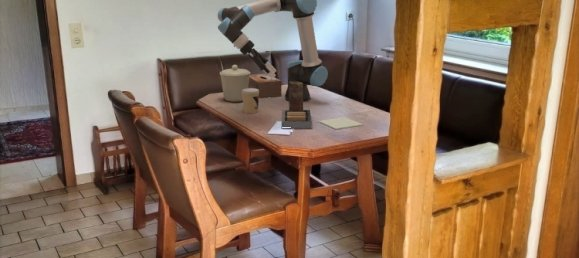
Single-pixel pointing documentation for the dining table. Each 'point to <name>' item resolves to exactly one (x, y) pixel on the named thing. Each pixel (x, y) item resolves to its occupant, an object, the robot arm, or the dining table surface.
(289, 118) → the offcut stack
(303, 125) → the offcut rack
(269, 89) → the tissue box cover
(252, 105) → the coffee cup
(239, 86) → the canister
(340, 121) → the mat
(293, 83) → the dark brown tall cylinder
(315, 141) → the dining table surface
